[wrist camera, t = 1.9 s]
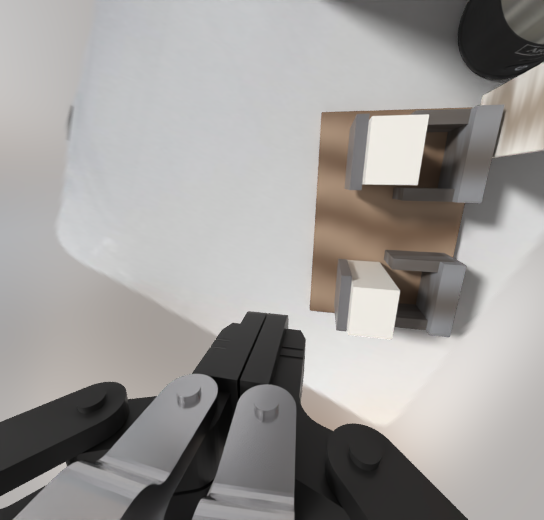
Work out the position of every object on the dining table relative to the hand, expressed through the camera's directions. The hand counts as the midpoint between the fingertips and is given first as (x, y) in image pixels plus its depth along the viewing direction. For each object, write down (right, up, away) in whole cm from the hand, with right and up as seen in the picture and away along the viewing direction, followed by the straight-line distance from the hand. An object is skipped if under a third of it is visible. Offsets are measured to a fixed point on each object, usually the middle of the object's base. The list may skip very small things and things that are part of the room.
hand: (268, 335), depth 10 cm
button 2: (+11, +14, +19) cm, 26 cm away
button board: (+13, +7, +22) cm, 27 cm away
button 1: (+11, 0, +23) cm, 25 cm away
